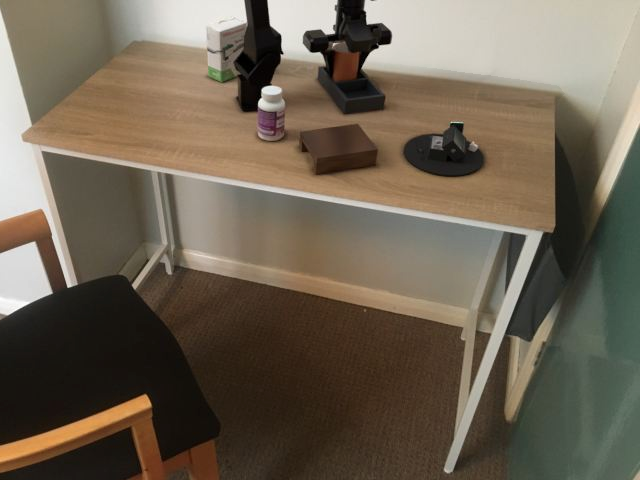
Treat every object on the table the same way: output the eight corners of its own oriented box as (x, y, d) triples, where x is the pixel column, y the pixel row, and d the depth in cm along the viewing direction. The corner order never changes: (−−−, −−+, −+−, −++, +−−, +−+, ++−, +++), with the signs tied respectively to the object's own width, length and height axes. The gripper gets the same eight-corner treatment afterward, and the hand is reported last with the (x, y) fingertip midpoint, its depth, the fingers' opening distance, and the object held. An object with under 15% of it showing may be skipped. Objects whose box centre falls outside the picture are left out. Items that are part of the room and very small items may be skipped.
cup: (335, 89, 136) (338, 54, 130) (326, 78, 140) (329, 43, 135) (360, 86, 137) (364, 51, 131) (350, 75, 141) (354, 40, 136)
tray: (344, 114, 129) (345, 100, 127) (317, 79, 141) (318, 66, 139) (383, 109, 131) (385, 95, 129) (353, 75, 143) (355, 62, 141)
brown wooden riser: (315, 174, 113) (316, 158, 110) (299, 147, 120) (299, 131, 117) (375, 165, 115) (378, 149, 112) (355, 139, 122) (357, 123, 119)
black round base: (482, 181, 111) (490, 155, 107) (399, 169, 114) (404, 143, 110) (483, 141, 121) (490, 115, 117) (407, 131, 124) (412, 106, 120)
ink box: (221, 83, 140) (219, 31, 132) (207, 76, 143) (204, 25, 135) (248, 71, 145) (248, 20, 136) (234, 65, 147) (233, 15, 139)
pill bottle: (281, 143, 121) (283, 97, 114) (255, 140, 122) (255, 95, 115) (286, 129, 125) (287, 85, 118) (260, 127, 125) (261, 82, 119)
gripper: (321, 21, 119) (316, 96, 130) (408, 12, 123) (396, 86, 134) (303, 2, 127) (300, 74, 138) (386, -6, 131) (376, 65, 141)
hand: (343, 75), depth 137 cm, fingers closed on cup, 6 cm apart
